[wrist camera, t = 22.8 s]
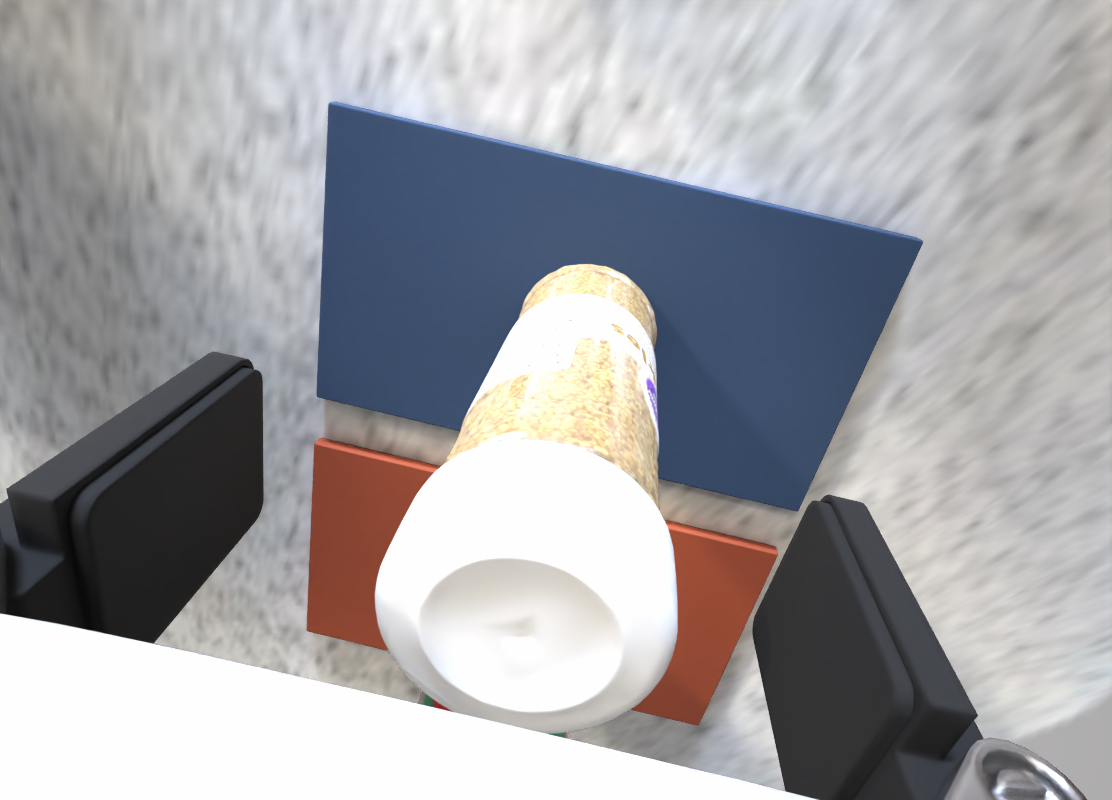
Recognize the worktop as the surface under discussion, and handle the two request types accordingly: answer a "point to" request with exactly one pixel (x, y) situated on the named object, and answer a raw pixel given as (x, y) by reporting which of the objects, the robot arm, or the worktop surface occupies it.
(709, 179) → the worktop surface
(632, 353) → the sprinkles bottle
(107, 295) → the worktop surface
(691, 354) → the slate-blue mat
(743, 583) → the terracotta mat
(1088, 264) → the worktop surface
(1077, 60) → the worktop surface
